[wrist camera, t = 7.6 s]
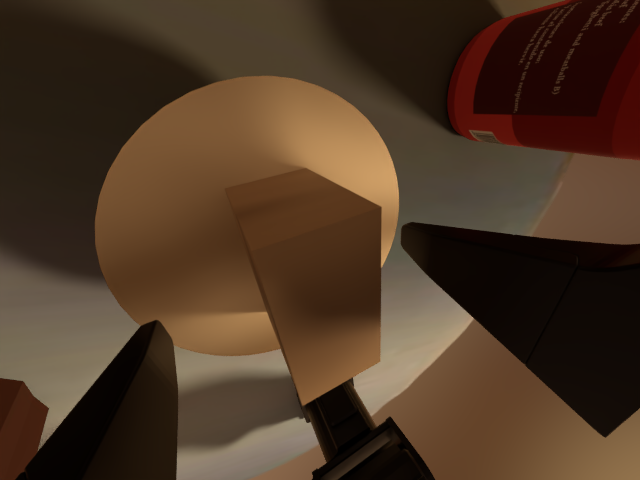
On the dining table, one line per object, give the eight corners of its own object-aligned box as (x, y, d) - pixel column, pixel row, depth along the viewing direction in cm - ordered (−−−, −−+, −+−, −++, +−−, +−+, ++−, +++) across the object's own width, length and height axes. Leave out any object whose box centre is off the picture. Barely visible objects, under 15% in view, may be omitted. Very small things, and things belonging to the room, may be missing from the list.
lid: (384, 286, 16) (457, 353, 12) (190, 376, 12) (189, 524, 8) (388, 61, 10) (551, 24, 5) (-5, 108, 6) (-506, 112, 2)
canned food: (512, 116, 22) (732, 123, 13) (444, 156, 20) (639, 194, 11) (527, 3, 17) (875, -103, 8) (441, 44, 16) (755, -35, 7)
